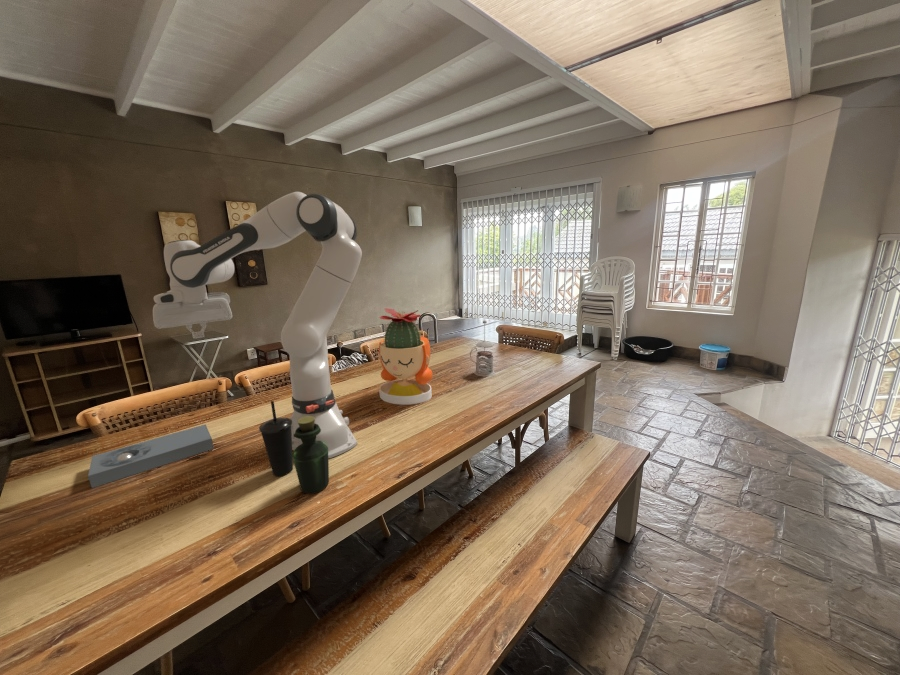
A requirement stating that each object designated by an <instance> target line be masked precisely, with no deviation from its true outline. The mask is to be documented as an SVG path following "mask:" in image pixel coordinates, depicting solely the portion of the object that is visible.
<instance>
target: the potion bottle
mask: <svg viewBox="0 0 900 675" xmlns="http://www.w3.org/2000/svg"><path fill="white" fill-rule="evenodd" d="M314 422H315V417H313V416H305V417H302V418H300V419H299V420H298V424H299V426H300V427H298V428H297V429H296V431H295V437H296V438H298V439H301V441H302V444H301V445H299V446H298V447H297V448H296V449H295V450H293V452H292V457H293V465H294V467H295V471H296V476H297V479H298V483H299V487H300V490H301V491H302V492H303V493H305V494H309V495H311V494H317V493H319V492H322V491H323V490H325V489H326V487H327V486H328V485H329V482H330V477H329V476H330V472H329V470H330V469H329V468H330V465H329V463H330V462H329V459H328V447H327V445H326V444H325V443H324V442H322V441H317V440H316V435H318V434H319V433H320V432H321V429H320V427H319V425H318V424H315V423H314Z"/></svg>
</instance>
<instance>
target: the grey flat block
mask: <svg viewBox="0 0 900 675" xmlns="http://www.w3.org/2000/svg"><path fill="white" fill-rule="evenodd" d="M214 447H215V446H214V443H213V439H212V436H211V433H210V432H209V429H208V426H207V424H206V423H205V424H202V425H198V426H194V427H191V428H187V429H184V430H180V431H177V432H176V431H175V432H173V433H170V434H166V435H163V436H162V435H161V436H159V437H155V438H152V439H148V440H145V441H142V442H141V441H140V442H138V443H134V444H130V445H126V446H124V447H120V448H116V449H113V450H112V449H111V450H109V451H106V452H102V453H98V454H95V455H92V456H91V460H90V465H89V469H88V474H87V477H88V481H89V484H90V487H91V489H94V488H97V487H100V486H104V485H106V484H109V483H112V482H115V481H119V480H122V479H126V478H128V477H131V476H135V475H137V474H140V473H144V472H146V471H149V470H154V469H156V468H159V467H163V466H165V465H167V464H168V465H169V464H171V463H174V462H175V463H176V462H178V461H181V460H183V459H187V458H190V457H193V456H196V455H199V454H203V453H205V452H208V450H209V451H212V450H214V449H215V448H214ZM202 452H203V453H202ZM123 453H131V454H133V455H134V456H133V457H131V458H129V459H125V460H122V461H116V458H117V457H118V456H119V455H121V454H123Z"/></svg>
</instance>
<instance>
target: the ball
mask: <svg viewBox="0 0 900 675" xmlns="http://www.w3.org/2000/svg"><path fill="white" fill-rule="evenodd" d="M133 456H134V455H133V454H131V453H123V454H121V455H119V456H118V457H117V458H116V461H122V460H125V459H129V458H131V457H133Z"/></svg>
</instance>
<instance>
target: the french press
mask: <svg viewBox="0 0 900 675" xmlns="http://www.w3.org/2000/svg"><path fill="white" fill-rule="evenodd" d="M487 323H488V322H487V320H482V324H484V326H483V327H484V329H483V330H484V332H483V334H484V336H483V338H484V340H481V341H479V342H477V343H475V346H476V347H472V349H471V350H470V352H469V358H470V361H471V362H473V363H474V364H475V371H473V372H474V375H476V376H478V377H491V376H494V375H495V374H496V372H495V371H494V355H493V352H492V351H490V350H486V348H493V346H494V344H493V343H492V342H491V341H488V340H486V324H487ZM477 347H478V348H482V349H483V348H484V349H483V350H479V351H477V350H478V349H477ZM474 350H475V351H477V352H476V356H475V357H476V361H474V360H473V359H472V356H471V355H472V353H473V351H474Z"/></svg>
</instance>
